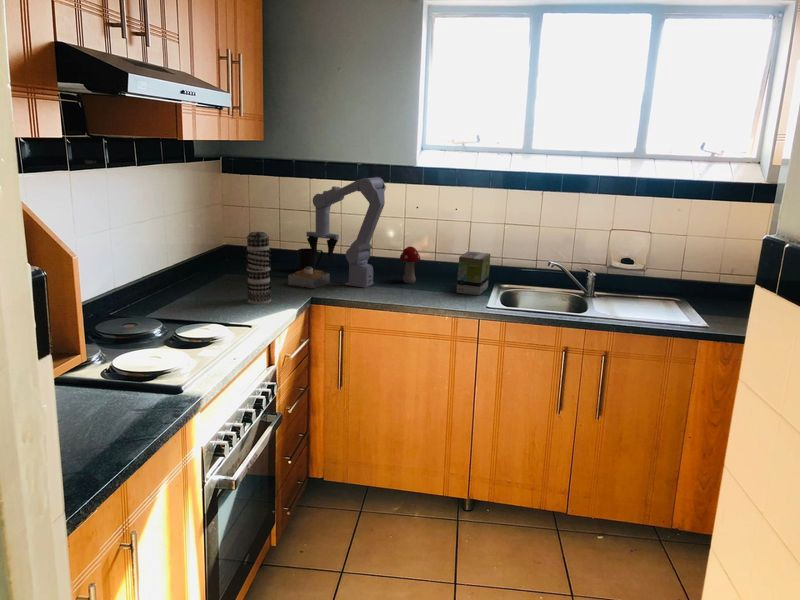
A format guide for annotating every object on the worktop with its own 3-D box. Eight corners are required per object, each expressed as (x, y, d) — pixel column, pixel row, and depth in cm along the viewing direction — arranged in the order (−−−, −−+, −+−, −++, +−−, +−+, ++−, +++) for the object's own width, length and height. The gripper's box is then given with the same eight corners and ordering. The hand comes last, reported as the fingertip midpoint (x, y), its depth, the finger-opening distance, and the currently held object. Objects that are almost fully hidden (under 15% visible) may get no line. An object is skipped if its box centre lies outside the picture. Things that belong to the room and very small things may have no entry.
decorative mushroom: (397, 279, 282) (398, 244, 278) (417, 279, 283) (418, 244, 280) (401, 284, 273) (402, 248, 269) (421, 284, 274) (423, 248, 270)
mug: (327, 271, 293) (327, 250, 291) (303, 273, 286) (303, 252, 284) (317, 267, 299) (317, 247, 297) (294, 270, 292) (294, 249, 290)
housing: (329, 283, 271) (329, 270, 270) (313, 288, 260) (313, 276, 259) (304, 279, 276) (304, 267, 274) (288, 285, 265) (288, 272, 264)
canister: (314, 283, 267) (314, 267, 266) (306, 284, 265) (306, 268, 264) (310, 281, 270) (310, 265, 269) (302, 282, 268) (302, 266, 267)
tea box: (480, 295, 258) (483, 258, 255) (455, 293, 262) (457, 256, 258) (488, 287, 272) (490, 252, 268) (464, 285, 275) (466, 250, 272)
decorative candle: (256, 305, 234) (254, 235, 228) (241, 300, 240) (239, 232, 234) (277, 301, 240) (276, 233, 234) (262, 296, 247) (261, 230, 240)
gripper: (342, 223, 274) (342, 255, 277) (312, 220, 280) (312, 251, 283) (334, 225, 268) (333, 258, 271) (303, 222, 273) (303, 254, 277)
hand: (322, 255), depth 277 cm, fingers open, 7 cm apart
